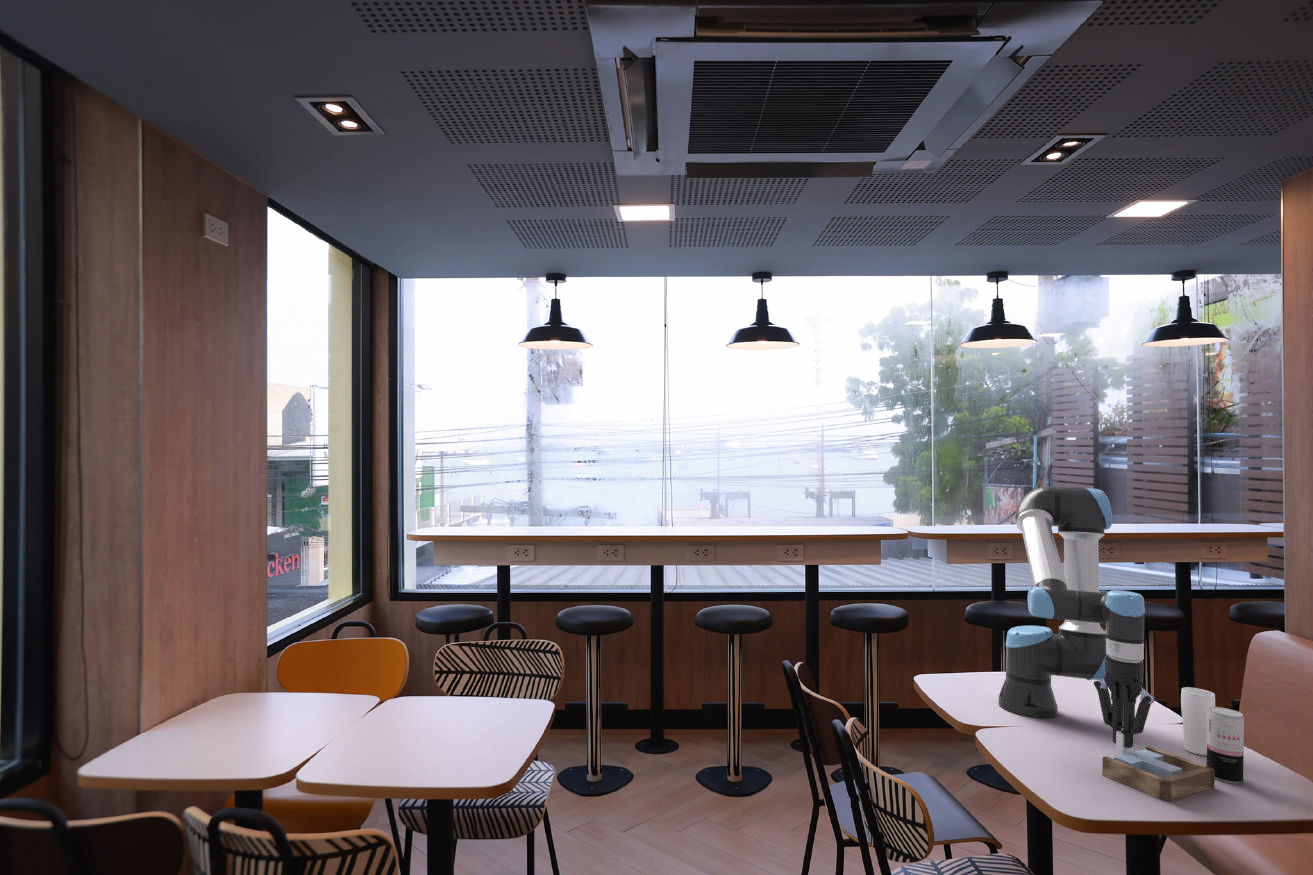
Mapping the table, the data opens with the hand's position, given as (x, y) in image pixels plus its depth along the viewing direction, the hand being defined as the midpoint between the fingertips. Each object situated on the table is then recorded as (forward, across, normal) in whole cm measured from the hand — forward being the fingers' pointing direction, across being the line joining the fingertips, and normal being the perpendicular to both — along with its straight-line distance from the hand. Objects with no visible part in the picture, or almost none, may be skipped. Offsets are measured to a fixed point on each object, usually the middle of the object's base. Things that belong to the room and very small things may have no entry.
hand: (1122, 759), depth 164 cm
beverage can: (+2, +13, +17) cm, 21 cm away
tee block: (+2, +7, 0) cm, 7 cm away
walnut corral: (+2, +8, 0) cm, 8 cm away
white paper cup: (+2, +2, +28) cm, 28 cm away
